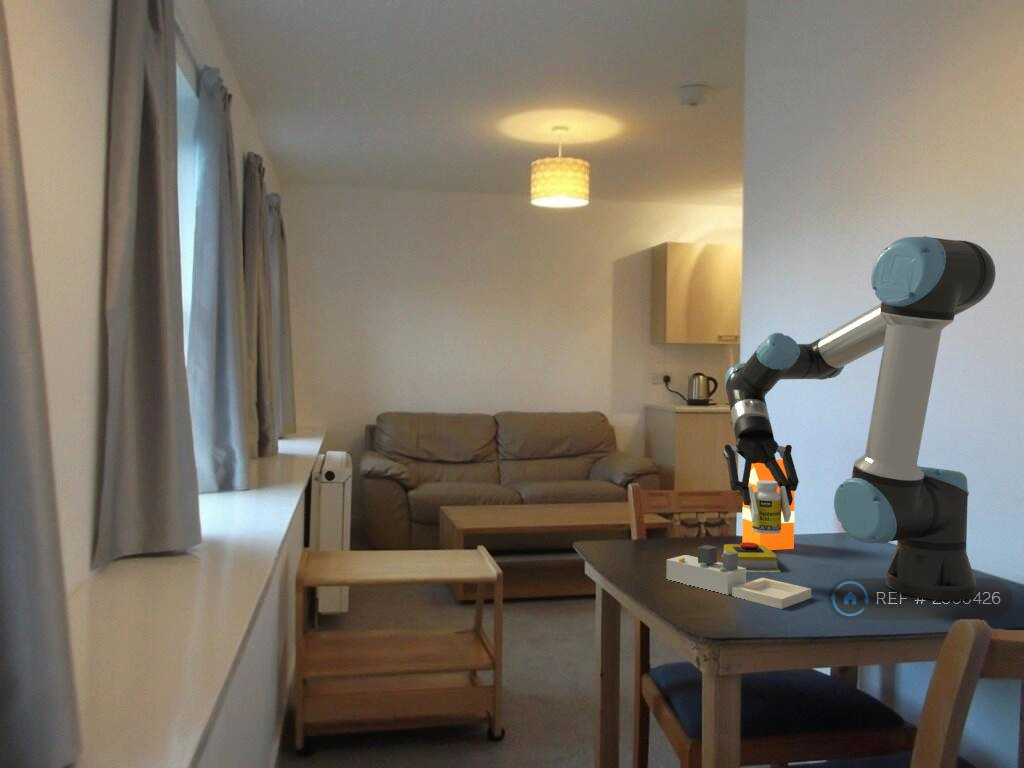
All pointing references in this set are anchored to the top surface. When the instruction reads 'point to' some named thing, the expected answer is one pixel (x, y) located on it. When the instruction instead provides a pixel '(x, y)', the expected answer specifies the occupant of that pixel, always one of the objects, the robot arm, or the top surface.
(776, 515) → the supplement bottle
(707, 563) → the switch
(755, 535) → the orange juice
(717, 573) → the long low white box
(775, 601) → the shallow cream rectangular tray
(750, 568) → the emergency button
